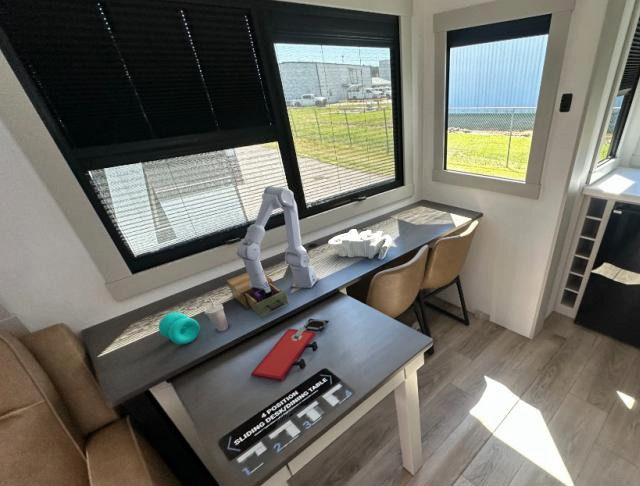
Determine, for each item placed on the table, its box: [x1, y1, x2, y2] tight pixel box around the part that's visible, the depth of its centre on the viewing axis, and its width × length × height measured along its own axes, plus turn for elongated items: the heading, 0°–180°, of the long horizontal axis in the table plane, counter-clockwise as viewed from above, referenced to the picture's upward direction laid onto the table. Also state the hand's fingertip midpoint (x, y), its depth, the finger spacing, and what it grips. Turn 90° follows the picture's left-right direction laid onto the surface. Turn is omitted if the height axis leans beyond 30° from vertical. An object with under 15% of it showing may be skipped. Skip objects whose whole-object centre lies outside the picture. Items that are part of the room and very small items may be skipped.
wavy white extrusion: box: [328, 229, 393, 260], centre depth 167 cm, size 35×16×11 cm, turn 71°
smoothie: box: [203, 296, 229, 332], centre depth 118 cm, size 6×6×14 cm
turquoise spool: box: [158, 311, 201, 345], centre depth 115 cm, size 10×10×10 cm
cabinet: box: [226, 272, 275, 310], centre depth 138 cm, size 16×14×8 cm
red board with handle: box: [250, 318, 330, 382], centre depth 109 cm, size 30×3×15 cm
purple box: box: [254, 289, 273, 303], centre depth 130 cm, size 4×6×6 cm
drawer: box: [244, 283, 290, 319], centre depth 129 cm, size 19×12×6 cm, turn 45°
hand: (265, 300), depth 131 cm, fingers open, 6 cm apart
